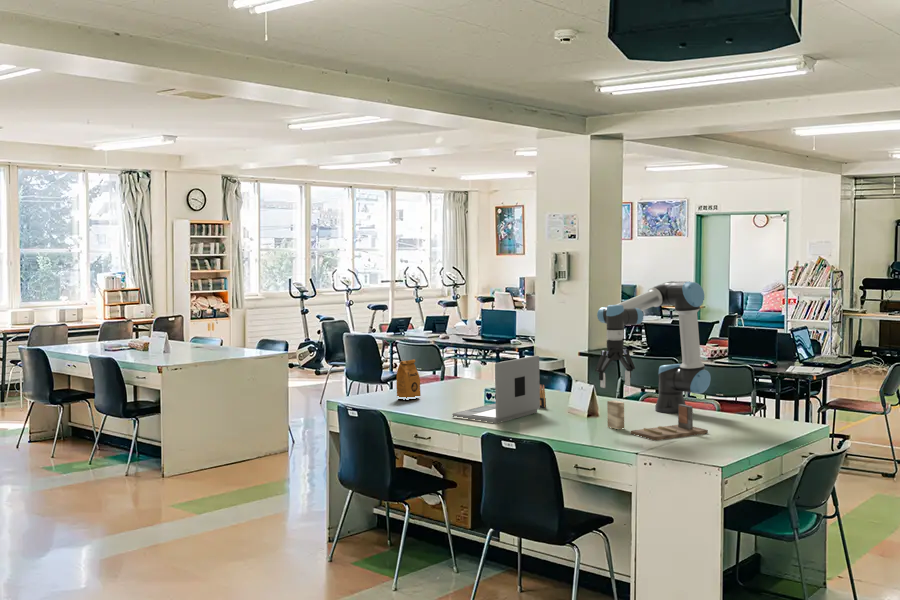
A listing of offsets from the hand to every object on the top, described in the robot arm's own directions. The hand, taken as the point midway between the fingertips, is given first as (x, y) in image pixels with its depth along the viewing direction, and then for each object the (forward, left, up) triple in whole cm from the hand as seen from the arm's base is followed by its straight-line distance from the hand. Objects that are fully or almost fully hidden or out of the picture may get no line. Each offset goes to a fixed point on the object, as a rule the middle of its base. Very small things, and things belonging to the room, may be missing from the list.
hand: (615, 386), depth 402 cm
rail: (-12, +22, -19) cm, 31 cm away
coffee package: (+47, -124, -19) cm, 134 cm away
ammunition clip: (0, -67, -19) cm, 70 cm away
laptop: (+30, -56, -20) cm, 67 cm away
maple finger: (0, 0, -19) cm, 19 cm away
